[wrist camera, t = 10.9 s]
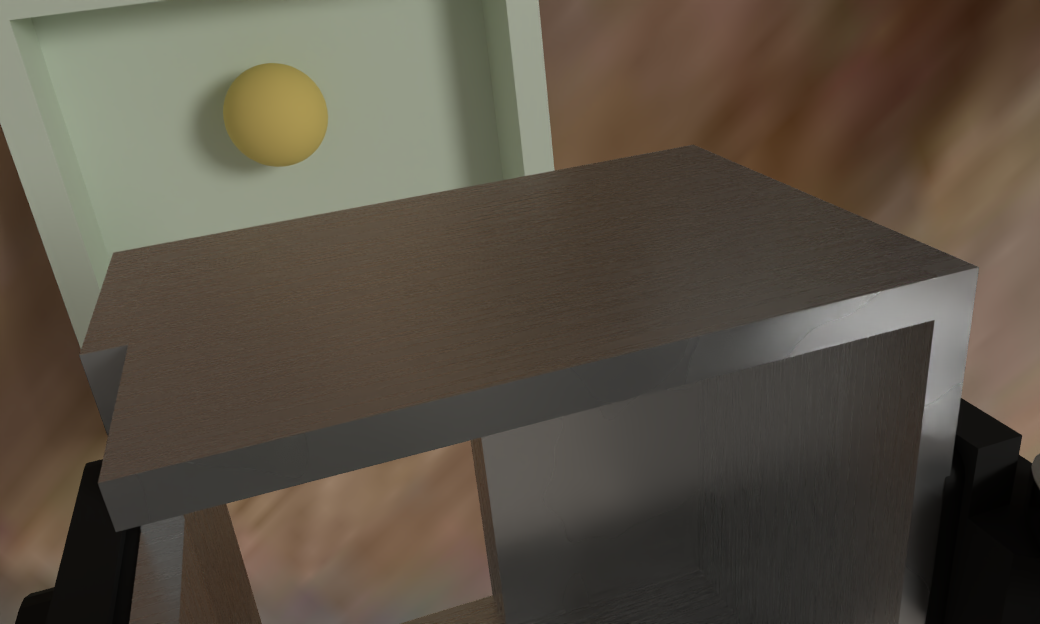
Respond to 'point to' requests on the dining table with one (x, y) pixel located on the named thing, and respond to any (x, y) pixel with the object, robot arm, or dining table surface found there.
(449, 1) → the tray
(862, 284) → the open shelf cabinet
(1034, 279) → the dining table surface
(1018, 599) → the robot arm
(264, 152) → the ball
